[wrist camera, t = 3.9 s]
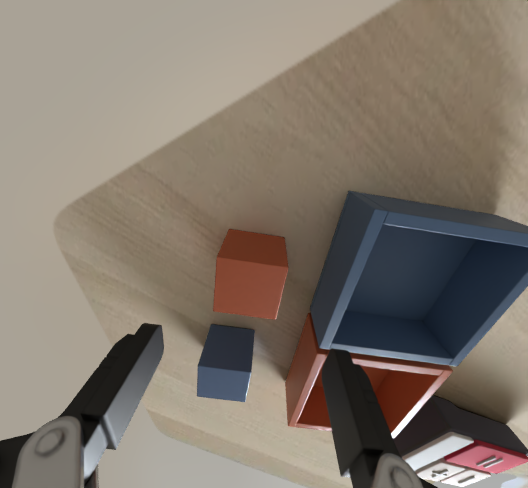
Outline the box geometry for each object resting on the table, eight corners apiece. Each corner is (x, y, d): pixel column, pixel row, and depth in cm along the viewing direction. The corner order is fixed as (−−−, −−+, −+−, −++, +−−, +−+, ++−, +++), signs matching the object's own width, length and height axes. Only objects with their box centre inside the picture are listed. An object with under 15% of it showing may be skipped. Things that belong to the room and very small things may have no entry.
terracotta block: (225, 274, 20) (212, 311, 16) (229, 228, 18) (216, 256, 13) (274, 281, 20) (276, 320, 16) (284, 237, 18) (288, 267, 14)
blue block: (209, 352, 24) (196, 396, 20) (211, 323, 22) (197, 365, 18) (249, 358, 25) (245, 402, 21) (254, 329, 23) (251, 372, 19)
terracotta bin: (285, 382, 27) (287, 426, 22) (308, 312, 21) (316, 353, 17) (376, 393, 27) (394, 438, 23) (420, 328, 22) (453, 371, 18)
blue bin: (309, 308, 21) (318, 348, 17) (348, 190, 16) (374, 208, 12) (422, 323, 22) (457, 366, 18) (495, 214, 16) (568, 240, 12)
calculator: (463, 491, 31) (383, 474, 27) (440, 451, 34) (368, 431, 31) (540, 462, 26) (456, 437, 23) (504, 419, 30) (428, 393, 26)
